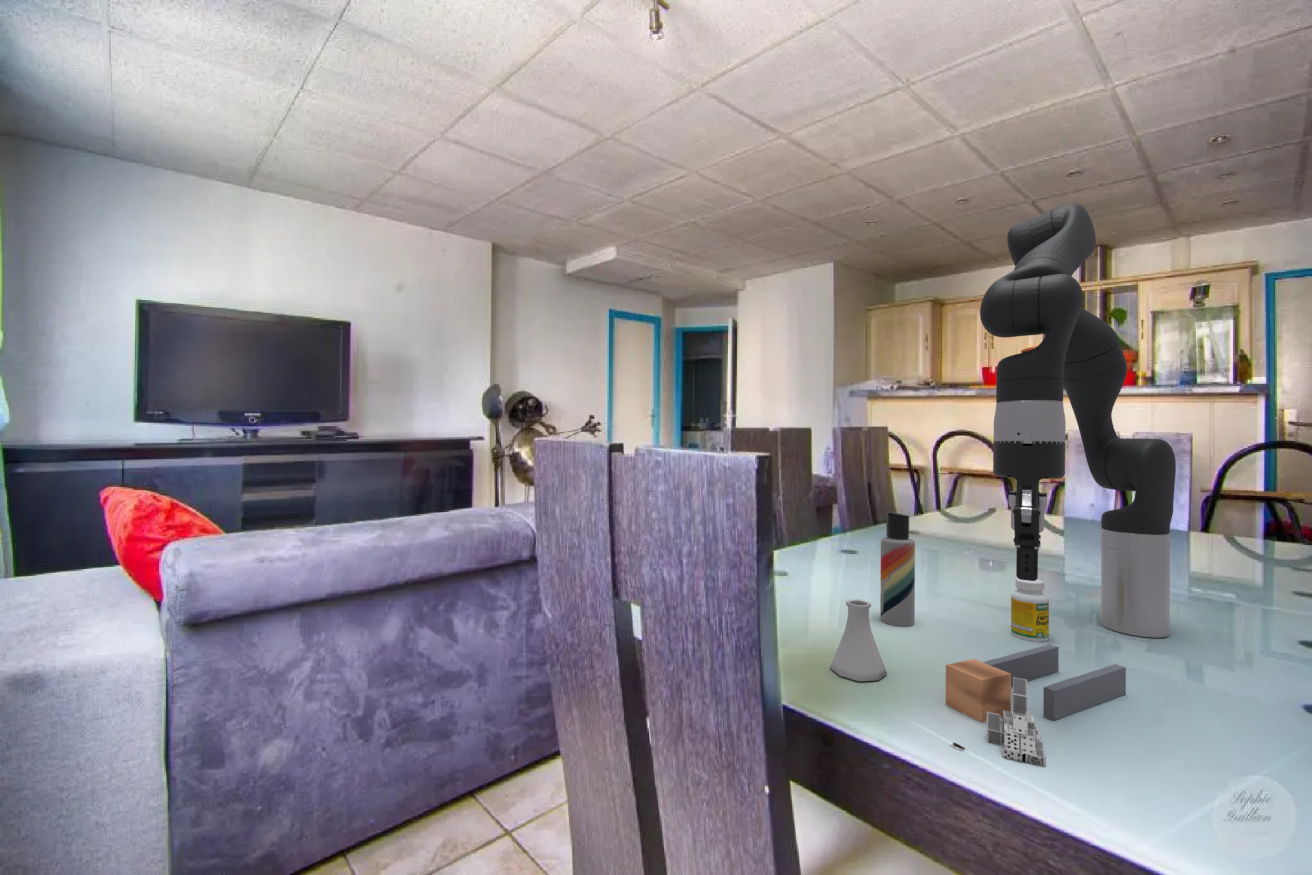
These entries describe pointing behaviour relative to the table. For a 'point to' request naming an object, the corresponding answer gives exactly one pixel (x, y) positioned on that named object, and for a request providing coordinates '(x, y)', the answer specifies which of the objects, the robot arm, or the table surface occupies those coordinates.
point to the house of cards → (1015, 729)
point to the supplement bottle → (1030, 611)
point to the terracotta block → (977, 689)
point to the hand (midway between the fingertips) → (1027, 579)
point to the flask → (858, 647)
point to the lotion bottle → (897, 573)
